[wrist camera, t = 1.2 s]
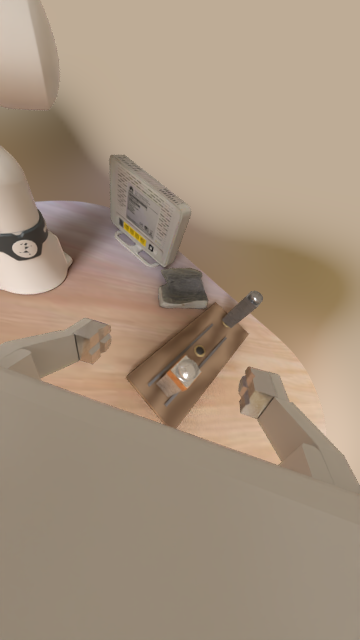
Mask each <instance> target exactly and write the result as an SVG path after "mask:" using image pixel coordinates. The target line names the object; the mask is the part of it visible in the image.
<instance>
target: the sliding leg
mask: <svg viewBox="0 0 360 640" xmlns="http://www.w3.org/2000/svg"><path fill="white" fill-rule="evenodd" d="M201 373H202V372H201V371H200V370H199V368H198V365H197V364H196V362H195V361H193V360H191V359H189V358H188V357H187V356H186V355H185V356H184V357H183V358H181V359H180V360H179V361H178V362H177V363H176V364H175V365H174V366H173V367H172V368H171V369H170V370H169V371H168V372H167V373H166V374H165V375H164V376H163V377H162V378H161V379H160V380H159V381H158V382H157V383H156V384H157V385H158V386H159V387H160V388H161V389H162V391H163V392H164V393H165V394H166V395H167V396H168V397H170V396H172V395H174V394H176V393H178V392H181V391H182V392H183V391H185V390H187V389H188V388H189V387H190V385H191V384H192V383H193V382H194V381H195V380H196V378H197V377H198V376H199V375H200V374H201Z"/></svg>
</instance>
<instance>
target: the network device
mask: <svg viewBox="0 0 360 640" xmlns="http://www.w3.org/2000/svg"><path fill="white" fill-rule="evenodd" d="M109 161H110V210H111V221H112V223H113V224H114V225H115V226H116V227H117V228H118V229H120V231H117V232H115V238H116V240H117V241H118V242H120V243H121V244H122V245H123V246H124V247H125V248H126V249H128V250H129V251H130V252H131V253H132V254H133V255H134V256H136V257H137V258H138V259H139V260H140V261H141V262H142V263H144V264H145V265H146V266H148V267H152V268H154V267H157V266H159V265H161V266H163V267H166V266H168V265H169V264H171V263H173V262H174V260H175V257H176V254H177V251H178V249H179V246H180V243H181V240H182V238H183V235H184V232H185V230H186V227H187V224H188V221H189V219H190V216H191V209H190V207H189V205H188V204H186V203H185V202H184V201H182V200H181V199H180V198H179V197H177V196H176V195H175V194H174V193H172V192H171V191H170V190H168V189H167V188H166V187H165V186H163V185H162V184H161V183H160V182H158V181H157V180H156V179H154V178H153V177H152V176H151V175H149V174H148V173H147V172H146V171H144V170H143V169H142V168H140V167H139V166H138V165H137V164H135V163H134V162H133V161H132V160H130V159H129V158H128V157H127V156H125V155H111V156H110V159H109ZM121 234H125V235H127V236H128V237H129V238H130V239H131V240H132V241H133V242H135V243H136V244H135V245H133V246H129V245H127V244H126V243H125V242H124V241H122V240H121V239H120V238H119V237H118V235H121ZM143 250H144V251H145V252H146V253H147V254H148V255H150V256H151V257H152V258H153V259H154V260H155V261H157V262H155V263H153V264H149V263H148V262H146V261H145V260H144V259H143V258H142V257H141V256H140V255H139V254H138V253H139V252H141V251H143Z"/></svg>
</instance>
